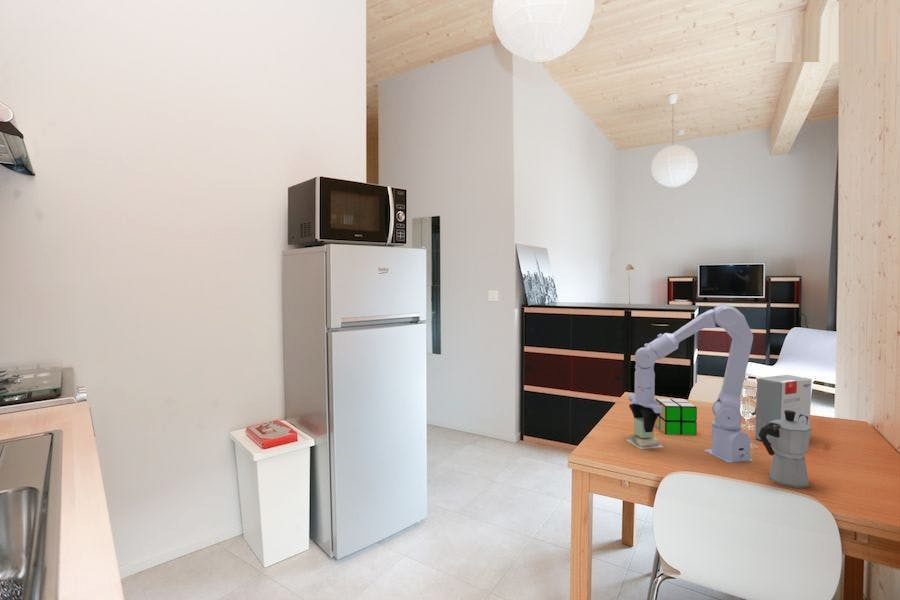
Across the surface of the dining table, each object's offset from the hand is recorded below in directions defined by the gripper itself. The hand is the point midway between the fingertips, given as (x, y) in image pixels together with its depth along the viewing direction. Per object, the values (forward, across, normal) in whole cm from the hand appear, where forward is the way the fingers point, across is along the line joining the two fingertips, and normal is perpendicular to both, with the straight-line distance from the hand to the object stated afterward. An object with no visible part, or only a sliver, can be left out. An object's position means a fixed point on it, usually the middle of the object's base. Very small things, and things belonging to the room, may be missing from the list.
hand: (644, 429), depth 139 cm
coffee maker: (+5, +30, +20) cm, 36 cm away
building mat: (+5, 0, +2) cm, 6 cm away
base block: (+4, 0, 0) cm, 4 cm away
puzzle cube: (+5, -10, +18) cm, 21 cm away
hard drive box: (+5, +4, +46) cm, 47 cm away
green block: (+2, 0, 0) cm, 2 cm away
